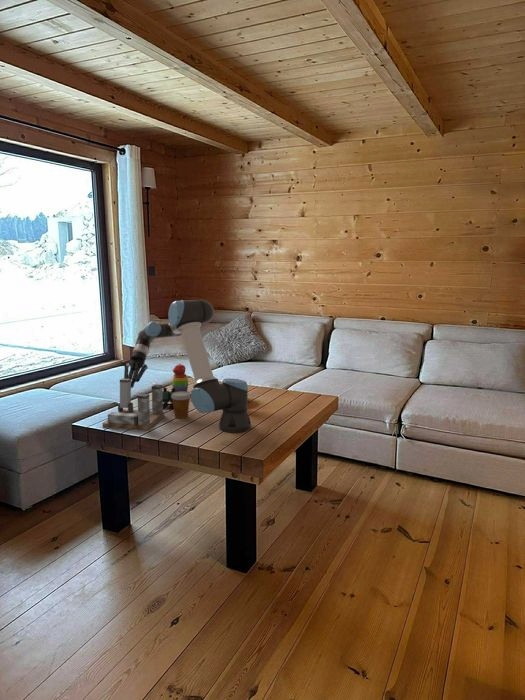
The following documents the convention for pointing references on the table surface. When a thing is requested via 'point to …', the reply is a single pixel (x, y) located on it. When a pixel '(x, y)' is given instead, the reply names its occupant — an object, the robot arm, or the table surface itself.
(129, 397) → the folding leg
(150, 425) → the grey block structure
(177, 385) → the stacking bear
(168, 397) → the binoculars
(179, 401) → the disposable coffee cup
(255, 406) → the table surface
